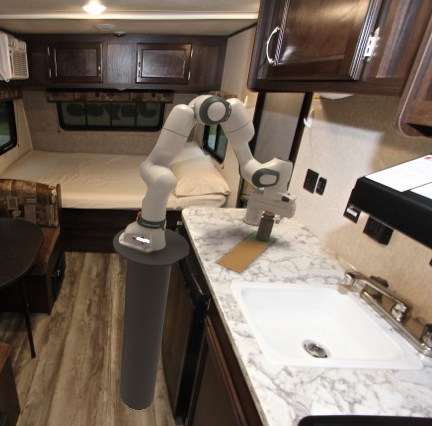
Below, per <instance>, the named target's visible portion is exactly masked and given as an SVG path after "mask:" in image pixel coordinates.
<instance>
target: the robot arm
mask: <svg viewBox="0 0 432 426" xmlns="http://www.w3.org/2000/svg"><path fill="white" fill-rule="evenodd" d="M197 124H201V125H205V126H206V125H207V126H217V125H220V126H221V130H222V131H223V134H224V136H225V137H226V139H227V140H228V142H229V144H230V145H231V147H232V150H233V153H234V154H235V157H236V160H237V163H238V175H239V176H240V178H241V179H243V180H245V181H247V182H248V183H249V184H250V185H252V186H253V187H254V188H251V189H250V191H249V197H248V199H247V203H246V204H247V205H248V206H249V207H253V208H254V212H255V217H257V218H258V217H259V213H258V211H257V210H258V209H259V210H263V212H264V211H267V212H270V213H273V214H274V215H275V216H279V219H278V218H277V219H275V220H274V224H275V225H279V224H280V223H281V221H282V220H283V219H284V218H286V219H290V220H291V219H292V218H293V217H294V216H295V214H296V210H297V202H296V200H297V195H296V194H293V192H290V191H289V190H288V183H289V182H290V180H291V177H292V173H293V165H294V164H293V162H292V161H291V160H289V159H287V158H284V157H282V156H281V157H280V156H275V157H274V158H272V159H271V160H269V161H266V162H265V163H261V162H259V161H258V160H257V159H256V158H254V156H253V154H252V152H251V148H250V146H249V142H251V141H252V139H253V138H254V136H255V127H254V124H253V120H252V118H251V116H250V114H249V111H248V110H247V108H246V107H245V105H244V104H243V102H242V101H241V100H240V99H239V98H237V97H231V98H228V99H224V98H223V97H221V96H219V95H212V94H199V95H196V96H195V97H193V98H192V99H191V100H190V101H189V102H188V103H187V104H183V103H181V104H177V105H175V106H174V107H173V108H172V109H171V111H170V112H169V114H168V116H167V118H166V120H165V122H164V124H163V125H162V129H161V132H160V134H159V136H158V138H157V141H156V143H155V145H154V146H153V147H154V148H152V150H151V152H150V153H149V155H148V156H147V158H146V159H145V160H144V161H142V162H141V164H140V166H139V175H140V178H141V180H142V181H143V182H144V183H146V192H145V196H144V197H142V201H141V211H138V213H137V216H136V220H135V221H133V222H132V223H129V224H127V225H126V228H124V229H125V232H123V233H122V234H121V236H120V237H119V244H120V245H123V246H126V247H129V248H132V249H136V250H139V251H142V252H145V253H150V252H152V251H157V250H161V249H163V248H164V247H165V246H166V242H165V234H164V230H165V228H166V227H167V216H166V215H167V207H168V201H169V199H170V196H171V194H172V193H173V192H174V191H175V190H176V188H177V186H178V179H177V177H176V175H175V174H174V172H173V171H172V170H171V169H170V166H171V165H172V163H173V162H174V161H175V160H176V159H177V158H179V157H180V156H181V155H182V152H183V151H184V148H185V145H186V143H187V141H188V139H189V136H190V134H191V130H193V128H194V127H195V126H196V125H197ZM260 188H261V189H260ZM262 188H263V189H262Z"/></svg>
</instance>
